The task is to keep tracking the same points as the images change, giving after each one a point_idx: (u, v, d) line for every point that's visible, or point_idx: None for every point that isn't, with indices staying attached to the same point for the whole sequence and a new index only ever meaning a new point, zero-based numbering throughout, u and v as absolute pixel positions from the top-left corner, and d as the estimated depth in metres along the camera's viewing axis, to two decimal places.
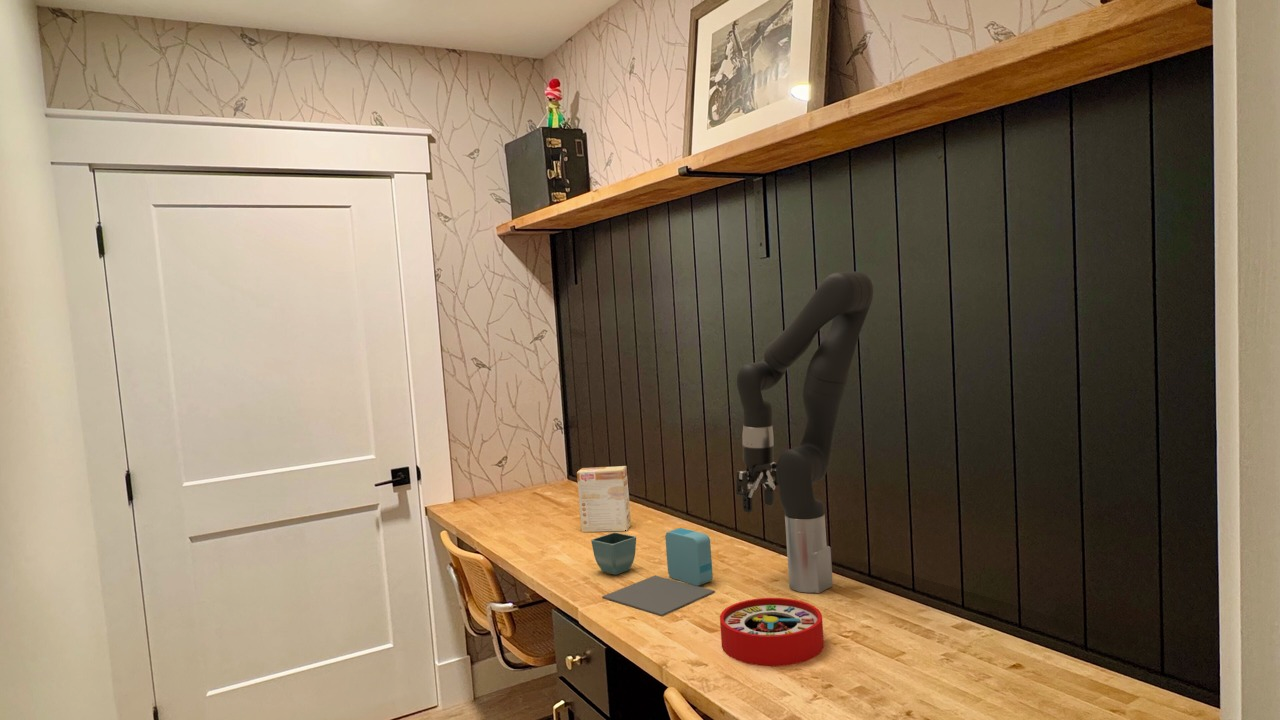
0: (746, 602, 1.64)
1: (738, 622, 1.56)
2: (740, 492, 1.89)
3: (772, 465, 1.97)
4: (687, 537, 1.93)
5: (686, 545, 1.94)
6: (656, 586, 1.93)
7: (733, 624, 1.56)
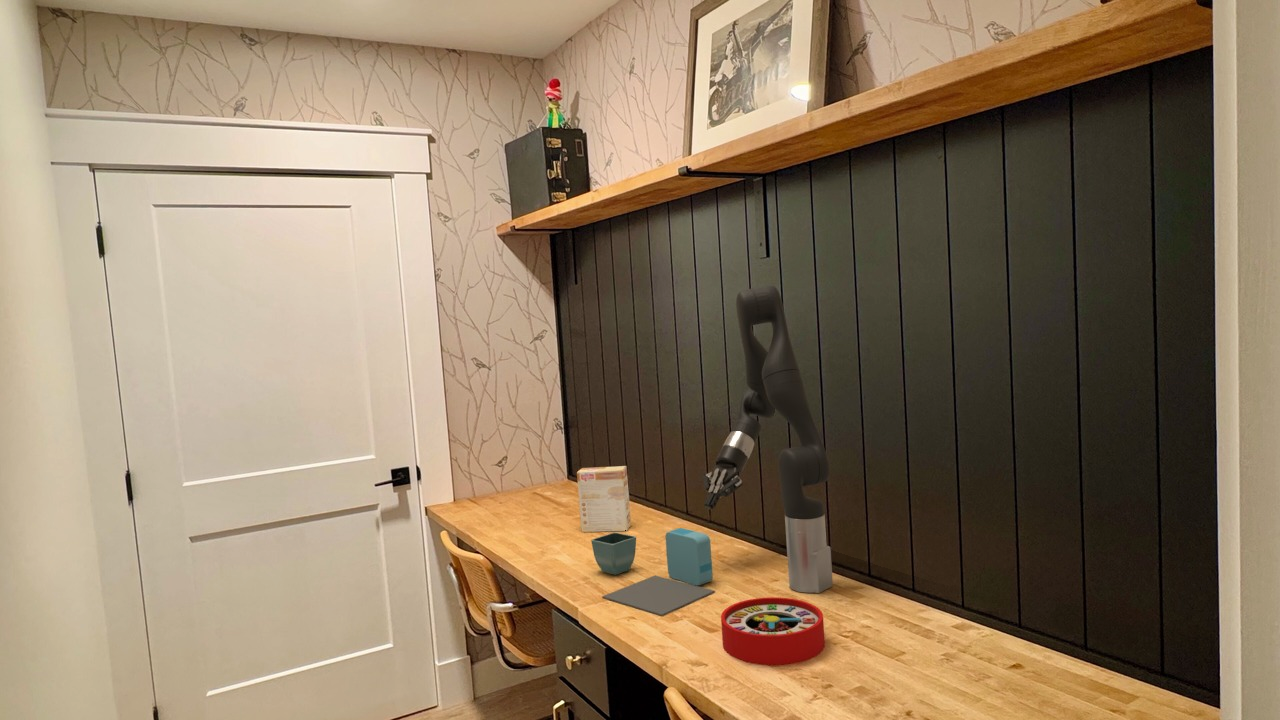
0: (747, 602, 1.65)
1: (739, 622, 1.57)
2: None
3: None
4: (688, 537, 1.93)
5: (686, 545, 1.94)
6: (656, 586, 1.93)
7: (734, 624, 1.56)
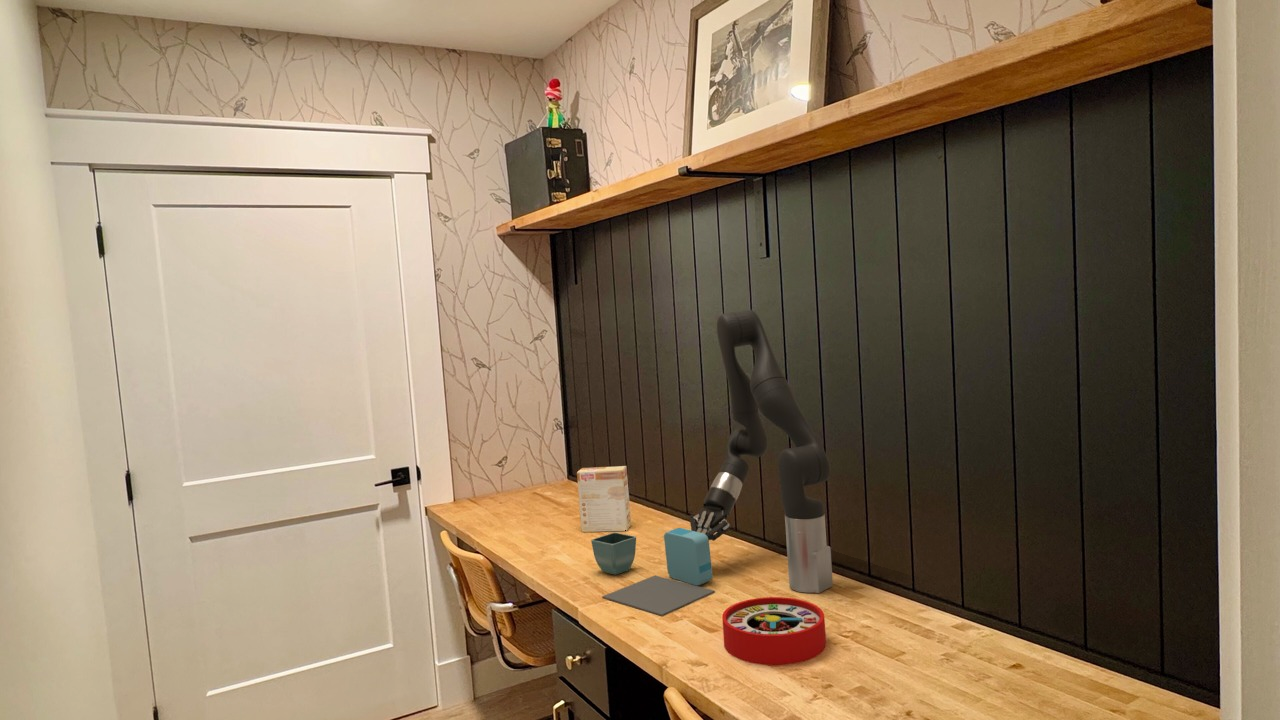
0: (748, 601, 1.65)
1: (740, 621, 1.57)
2: None
3: (724, 521, 1.99)
4: (686, 537, 1.93)
5: (685, 545, 1.93)
6: (656, 586, 1.93)
7: (735, 623, 1.56)
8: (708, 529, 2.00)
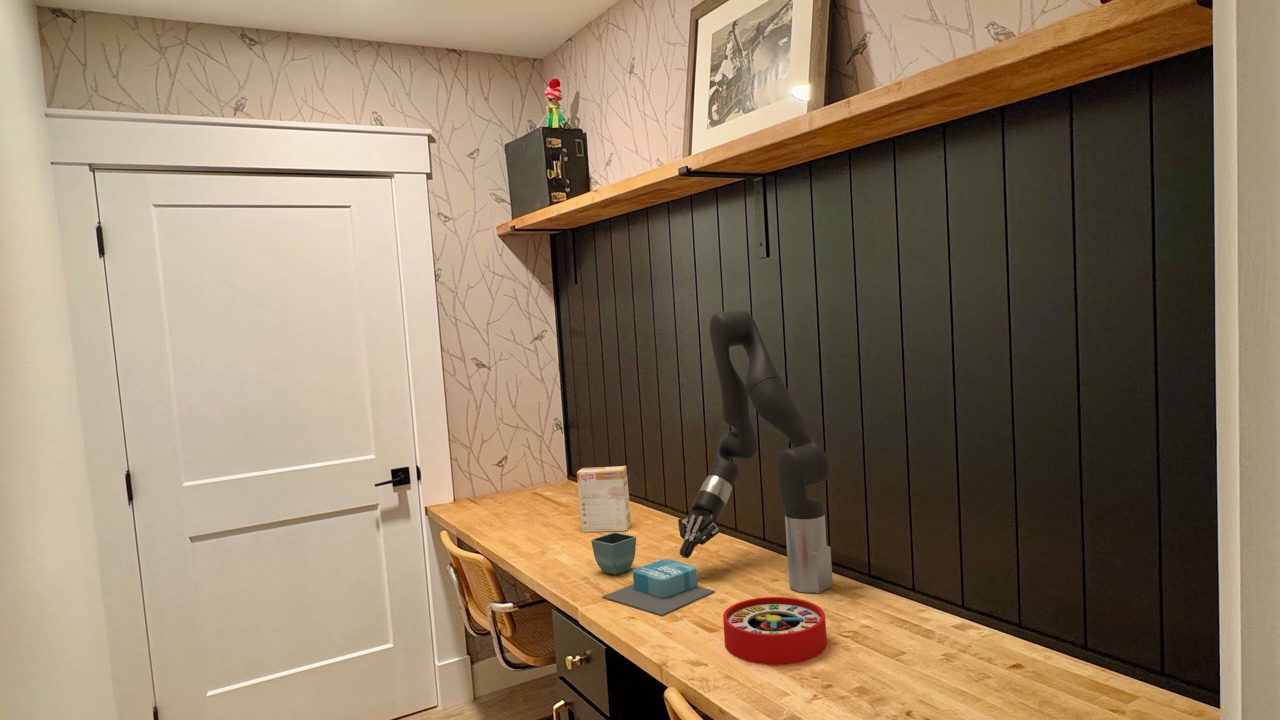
0: (749, 601, 1.65)
1: (741, 621, 1.57)
2: None
3: (713, 525, 1.96)
4: None
5: None
6: None
7: (736, 623, 1.56)
8: (697, 533, 1.97)
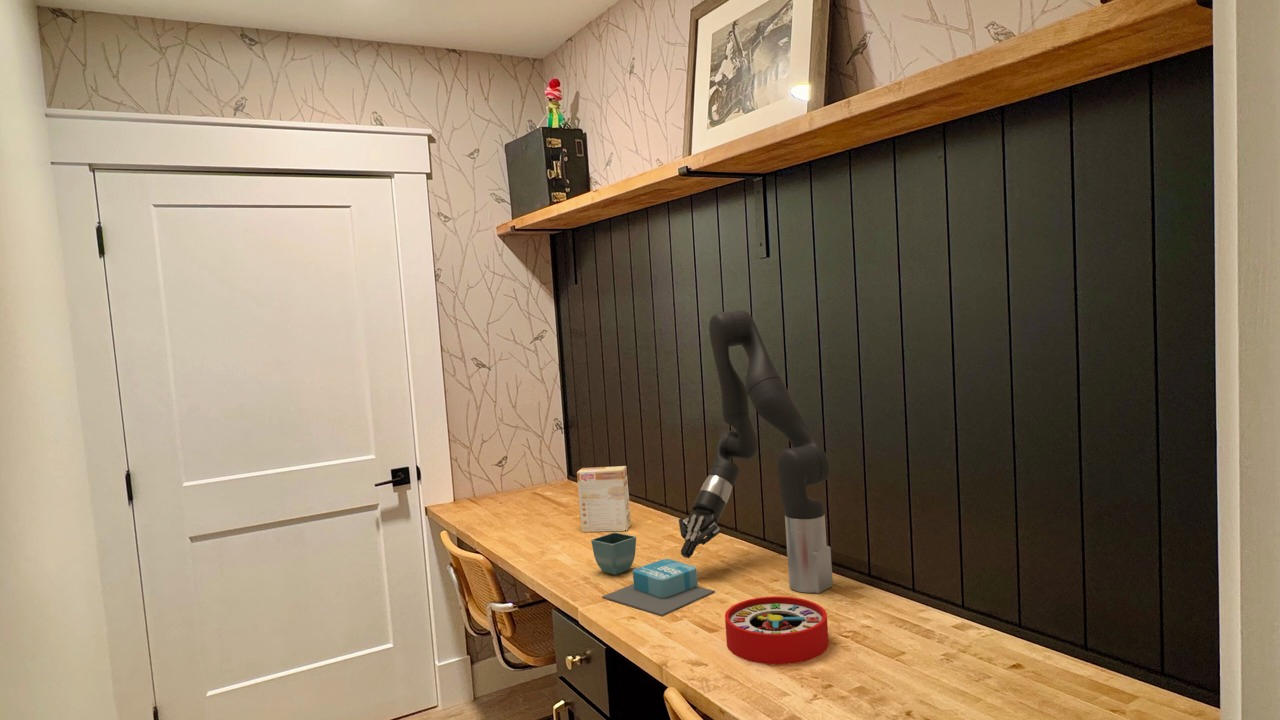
0: (750, 601, 1.65)
1: (743, 621, 1.57)
2: None
3: None
4: None
5: None
6: None
7: (738, 623, 1.56)
8: (698, 533, 1.97)
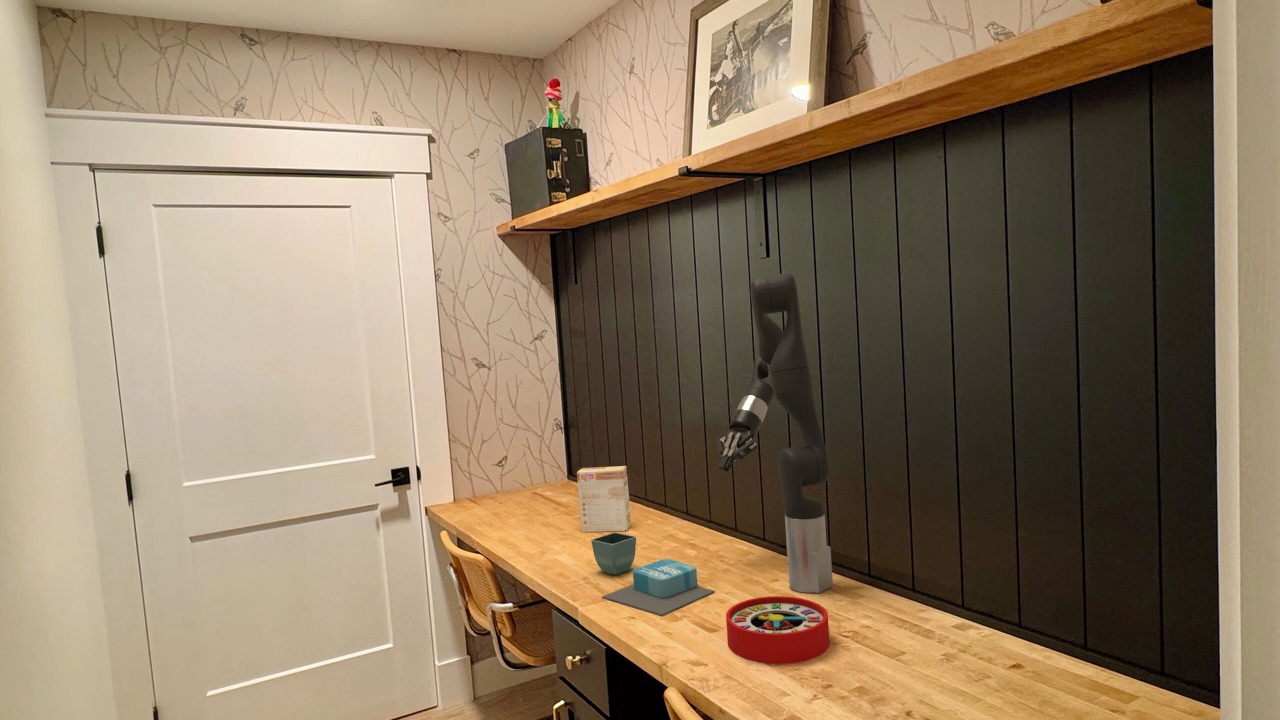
0: (751, 600, 1.65)
1: (744, 620, 1.57)
2: None
3: None
4: None
5: None
6: None
7: (739, 622, 1.57)
8: (735, 449, 2.03)
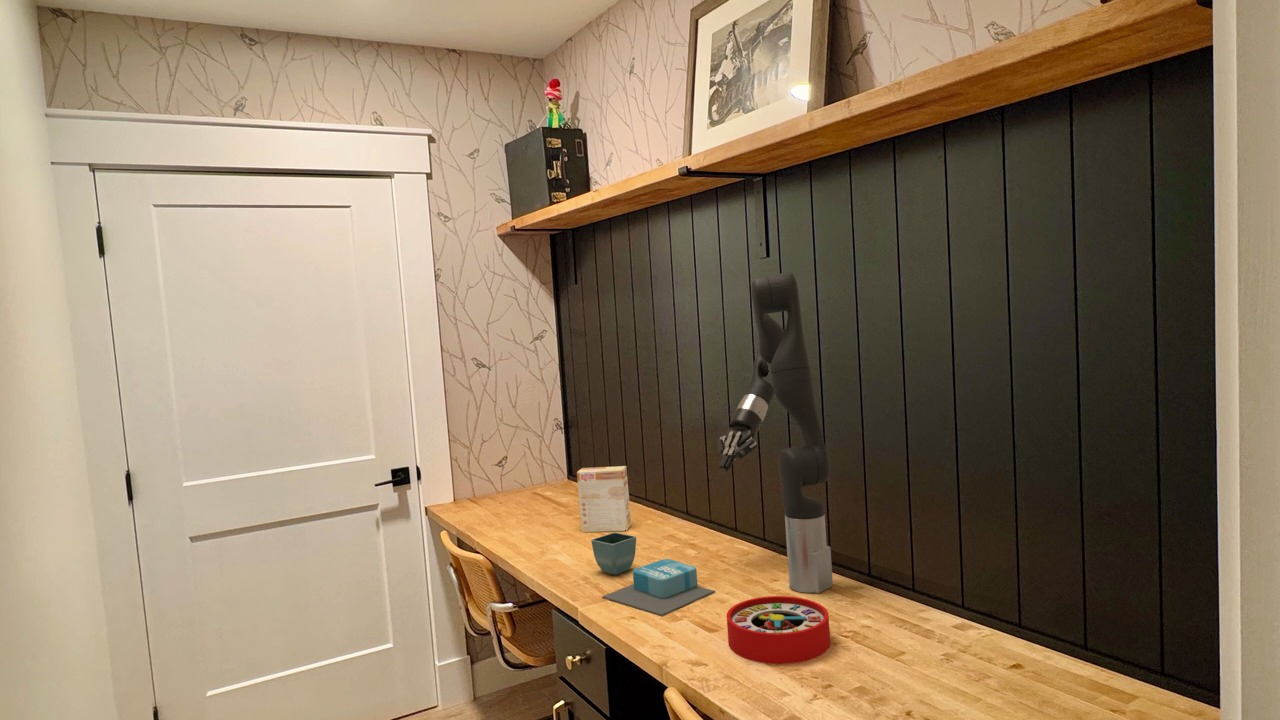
0: (752, 600, 1.65)
1: (745, 620, 1.57)
2: None
3: None
4: None
5: None
6: None
7: (740, 622, 1.57)
8: (735, 448, 2.03)
